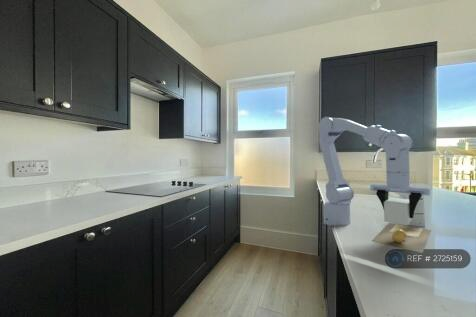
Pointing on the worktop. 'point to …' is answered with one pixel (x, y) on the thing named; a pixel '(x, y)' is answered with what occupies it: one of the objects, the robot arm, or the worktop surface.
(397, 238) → the marble
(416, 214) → the syrup box
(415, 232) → the walnut board
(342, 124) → the robot arm
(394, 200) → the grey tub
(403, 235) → the marble
